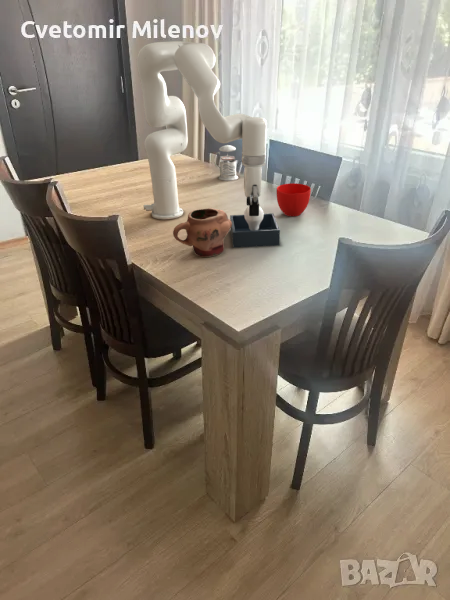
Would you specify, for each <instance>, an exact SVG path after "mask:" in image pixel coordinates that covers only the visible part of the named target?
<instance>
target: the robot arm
mask: <svg viewBox="0 0 450 600" xmlns="http://www.w3.org/2000/svg"><path fill="white" fill-rule="evenodd" d="M215 64H216V55H215V52H214V50H213V49H212V47H211V46H210V45H208V44H206V43H204V42H192V41H183V40H182V41H180V40H173V41H158V42H157V41H155V42H151V43H148V44H145V45H144V46H142V47H141V48H140V49H139V51H138V54H137V57H136V69H137V73H138V74H137V75H138V77H139V81H140V86H141V95H142V103H143V110H144V117H145V121H146V124H147V125H148V126H150V127H151V128H163V127H166V128H165V129H160V130H157V131H153V132H151V133H149V134H148V135H147V136H146V137H145V139H144V144H143V145H144V146H143V147H144V151H145V154H146V157H147V161H148V165H149V172H150V178H151V186H152V195H153V196H152V197H153V203H151V204H143V210H145V212H151V216H152V218H153V219H158V220H173V219H177V218H179V217H181V216H183V215H184V210H183V208H182V207H180V206H179V205H180V204H179V193H178V182H177V172H176V166H175V165H174V162H173V161H172V159H171V157H172V156H175V155H178V154H180V153H184V152H185V150H186V149H187V147H188V142H189V135H188V123H187V113H186V108H185V105H184V103H183V101H182V100H181V99H180V98H179V97H178V96H176V95H168V91H167V83H166V81H165V78H164V77H163V75H162V74H161V73H162V72H170V71H177V70H178V71H179V73H180V74H181V76H182V77H183V79H184V80H185V82H186V83H187V85H188V86H189V87H190V89H191V90H192V92H193V93H194V94H195V97H196V98H197V100H198V101H197V103H198V112H199V117H200V120H201V122H202V125H203V126H204V127H205V129H206V130H207V132H208V133H209V135H210V136H211V137H212V138H213V139H214V140H215V141H216V142H217V143H219V144H227V143H231V142H234V141H237V140H241V165H242V166H244V170H243V171H244V174H243V192H244V196H245V197H246V206H247V207H249V216H259V207H260V199H259V198H260V197H261V195H262V194H261V193H262V179H263V177H262V175H263V173H262V170H263V167H264V166H265V165H266V157H267V154H266V153H267V131H268V129H267V128H268V126H267V125H268V122H267V120H266V118H264V117H260V116H250V115H247V114H245V113H234V114H230V115H226V116H224V115H222V113H221V112H220V110H219V108H218V107H217V105H216V102H215V95H216V94H217V93H218V91H220V88H221V82H220V79H219V78H218V77H217V75H216V74H215V72H214V71H213V68H214V67H215Z"/></svg>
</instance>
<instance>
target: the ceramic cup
mask: <svg viewBox="0 0 450 600" xmlns="http://www.w3.org/2000/svg"><path fill="white" fill-rule="evenodd" d="M311 192H312V188H311V187H310V186H309V185H307V184H304V183H296V182H295V183H294V182H293V183H284V184H280V185H278V186H277V187H276V202H277V205H278V207H279V209H280V211H281V212H282V213H283V214H284V215H285V216H287V217H298V216H301V215H302V213H303V212H304V211H305V210H306V209H307V208H308V206H309V202H310V199H311V194H312V193H311Z"/></svg>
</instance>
